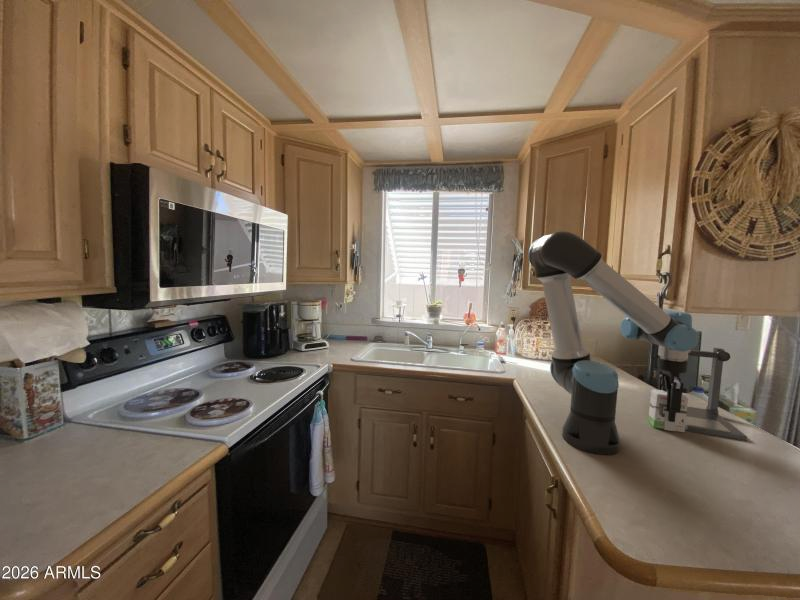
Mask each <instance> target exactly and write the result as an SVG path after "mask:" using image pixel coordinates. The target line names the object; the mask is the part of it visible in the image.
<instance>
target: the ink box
mask: <svg viewBox="0 0 800 600" xmlns="http://www.w3.org/2000/svg"><path fill="white" fill-rule="evenodd" d="M650 390H651V391H650V399H649V400H650V401H649V410H648V418H647V419H648V420H647V422H648V423H649V424H650V425H651V426H652V427H653V428H655V429H661V430H664V419H665V410H664V409H667V391H663V390H658V389H650ZM688 403H689V397H687V396H686V395H684V394H683V393H682V398H681V409H680V413H677V414H676V424H675V431H674V432H679V433H680V432H681V433H685V432H686V431H685V430H686V429H685V422H686V413H687V407H688Z"/></svg>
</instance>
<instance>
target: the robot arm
mask: <svg viewBox="0 0 800 600" xmlns="http://www.w3.org/2000/svg"><path fill="white" fill-rule="evenodd" d="M527 254H528V256H527V257H528V261H529V264H530V265H531V266H532V267H533V268H534V274H535V278H536V279H537V280H539V281H540V282H541V284H542V288H543V294H544V299H545V304H546V308H547V309H546V310H547V315H548V319H549V324H550V325H549V326H550V329H551V336H552V340H553V346H554V350H553V351H552V352H551V353H550V354H551V360H552V361H551V362H550V365H549V366H550V369H549V371H550V374H551V377H552V378H553V380H554V381H555V383H556V384H557V385H558V386H560V387H561V388H563V389H564V390H565V391H566V392H567V393H568V394H570V407H569V408H570V409H569V410H570V411H569V412H568V413H569V414H568V415H567V417H566V420H565V422H564V424H563V426H562V431H561V432H562V433H561V435H562V437H563V440H565V441H566V442H567V443H568V444H570V445H571V446H573V447H575V448H577V449H579V450H582V451H585V452H588V453H591V454H597V455H614V454H615V455H616V454H618V453H619V452H620V451H621V438H620V435H619V431H618V429H617V423H616V411H617V401H618V388H619V375H618V372H617V371H616V370H615V368H613V367H612V366H609V365H607V364H605V363H601V362H599V361H594V360H591V359H592V358H591V354H590V351H589V349H587V348H585V347H584V345H583V340H582V335H581V330H580V325H579V318H578V312H577V307H576V301H575V297H574V291H573V286H572V280H571V277H572V278H573V279H575V280H582V282H584V283H585V284H586V285H588V286H589V287H590V288H591V289H592V290H593V291H595V292H596V293H597V294H599V295H600V296H601V297H602V298H603V299H604V300H606V301H607V302H608V303H609V304H611V305H612V306H613V307H615V309H616V310H618V311H619V312H620V313H622V314H623V315H624V316H625V317H624V318H623V319H622V320H621V322H620V332H621V335H622V336H623V337H624V338H625V339H627V340H633V341H636V340H641V341H644V342H648V343H650V344H654V345H658V352H657V355H658V356H659V357H658V358H657V362H656V363H657V366H656V367H657V368H658V369H659V370H661V371H659V372H658V374H659V375H658V376H659V378H658V385H657V386H658V387H657V390H663V391H667V409H664V410H665V419H664V429H663V430H664V431H669V432H670V431H671V432H676V431H675V424H676V414H677V413H680V409H681V398H682V394H683V389H684V386H685V384H684V382H681V377H680V374H685V373H687V371H688V365H689V364H688V363H689V362H688V358H689V356H688V353H690V352H691V351H690V350H693V349H694V348H695V347H696V346H697V344H698V342H699V334H698V332H697V331H696V329H695V328H693V324H692V323H693V322H692V321H693V319H692V318H693V317H692V315H691V313H688V312H683V311H671V310H668V311H667V310H666V311H665V310H663V309H662V308H661V307H660V306H658V304H656V303H655V302H654V301H652V300H651V299H650V298H649V297H647V296H646V295H645V294H644V293H643V292H641V291H640V290H639V289H638V288H637V287H635V286H634V284H632V283H631V282H629V280H627V279H626V278H625V277H624V276H622V275H621V274H620V273H619V272H617V271H616V270H615V269H614V268H613V267H611V266H610V265H609V264H608V263H607V262H605V261H604V260H603V254H602V253H601V252H599V251H598V250H597V249H596V248H595V247H593V246H592V245H591V244H590V243H589V242H587V241H586V240H584V238H582V237H580V236H578V235H577V234H575V233H573V232H571V231H570V232H569V231H566V230H565V231H562V230H559V231H556V232H552V233H551V234H545V235H543V236H541V237H539V238H537V239H536V240H534V242H532V244H531V245H530V247H529V250H528V253H527Z"/></svg>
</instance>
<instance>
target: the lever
mask: <svg viewBox="0 0 800 600" xmlns="http://www.w3.org/2000/svg"><path fill="white" fill-rule="evenodd" d="M690 351H691V352H690V353H688V357H689V356H690V357H691V356H692V357H698V358H699V357H700V358H702V357H703V358H710V359H713V358H716V359H718V360H720V361H723V362H728V361H730V359H731V354H730V353H729V352H727V351H725V350H724V351H723V350H718V351H716V352H713V351H709V350H708V351H707V350H706V351H705V350H695V349H691V350H690Z"/></svg>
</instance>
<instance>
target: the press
mask: <svg viewBox="0 0 800 600" xmlns="http://www.w3.org/2000/svg"><path fill="white" fill-rule="evenodd" d="M718 350H723V351H725V349H723V348H720V347H719V348H718V347H713V350H712V352H716V351H718ZM711 359H712V360H711V369H710V379H709V388H708V395H707V396H708V399H707V406H706V407H705V408H701V407H692V406H687V413H686V422H685V430H686V431H687V432H691V433H692V432H693V433H697V434H704V435H709V436H715V437H719V438H720V437H721V438H728V439H732V440H739V441H745V442H746V441H747V438H748V436H747V435H746V434H745V433H743V432H742V431H741V430H739V429H738V428H736V426H734V425H733V424H732V423H730V421H728V420H726V419H725V418H724V417H723V416H721V415H720V414H719V410H718V409H719V402H720V401H719V400H720V394H721V392H720V391H721V384H722V375H723V367H724V366H723V365H724V361H720V360H718V359H716V358H711Z"/></svg>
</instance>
